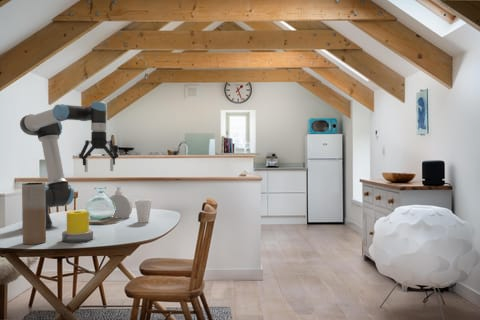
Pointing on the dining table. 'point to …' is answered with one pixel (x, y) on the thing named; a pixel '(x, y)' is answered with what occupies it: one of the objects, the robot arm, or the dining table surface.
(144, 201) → the foam cup
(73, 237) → the grey metal disc
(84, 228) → the tape roll
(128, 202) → the soap bottle
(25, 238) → the vase
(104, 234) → the dining table surface
